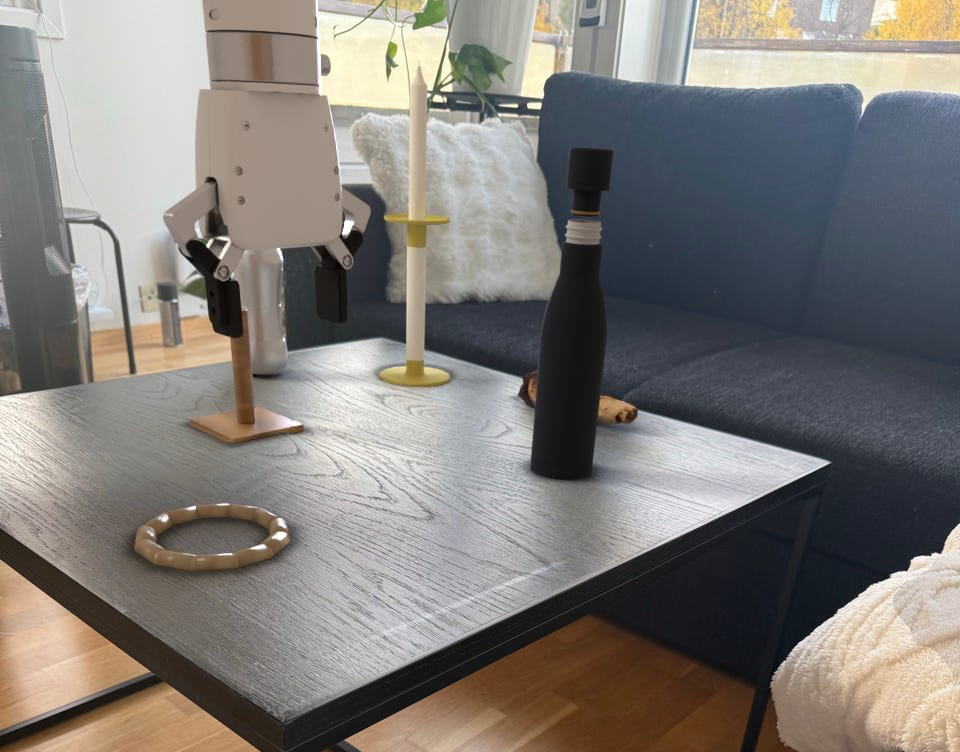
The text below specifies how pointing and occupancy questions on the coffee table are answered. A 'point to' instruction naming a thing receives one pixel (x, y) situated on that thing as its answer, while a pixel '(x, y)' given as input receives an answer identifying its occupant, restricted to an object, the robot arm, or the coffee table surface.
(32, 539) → the coffee table surface
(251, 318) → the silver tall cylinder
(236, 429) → the stand
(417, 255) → the candle
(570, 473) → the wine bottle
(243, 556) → the ring
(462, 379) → the coffee table surface
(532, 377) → the brown oblong lump
